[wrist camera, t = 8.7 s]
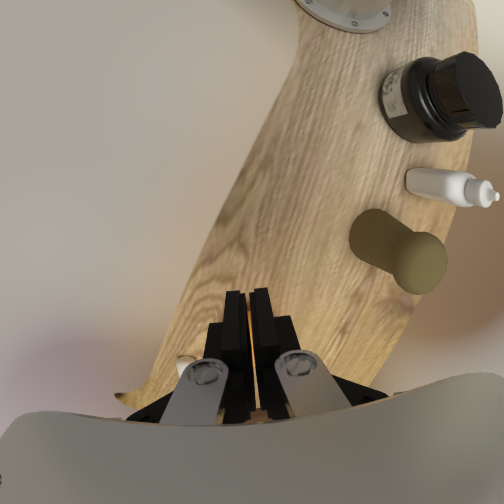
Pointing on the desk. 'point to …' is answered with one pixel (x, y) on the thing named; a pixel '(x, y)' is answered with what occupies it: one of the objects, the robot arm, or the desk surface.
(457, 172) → the eye dropper bottle
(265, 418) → the rail
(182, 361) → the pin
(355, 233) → the olive pawn
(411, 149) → the desk surface
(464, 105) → the ink bottle
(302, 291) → the desk surface
